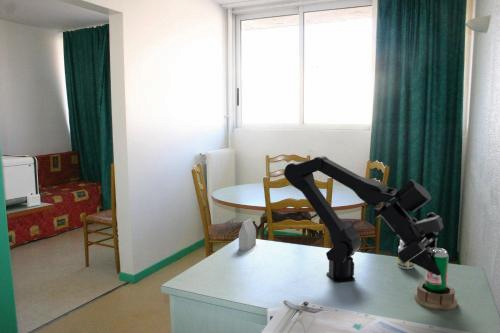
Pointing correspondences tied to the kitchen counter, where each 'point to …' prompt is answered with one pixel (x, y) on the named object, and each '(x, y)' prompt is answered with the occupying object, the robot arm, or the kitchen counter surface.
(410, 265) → the supplement bottle
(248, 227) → the grey pointed block
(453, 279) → the kitchen counter surface
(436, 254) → the soda can
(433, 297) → the holder
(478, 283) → the kitchen counter surface
